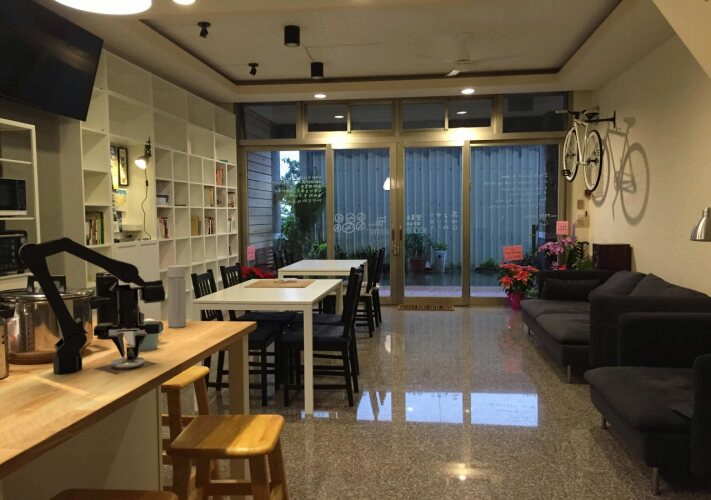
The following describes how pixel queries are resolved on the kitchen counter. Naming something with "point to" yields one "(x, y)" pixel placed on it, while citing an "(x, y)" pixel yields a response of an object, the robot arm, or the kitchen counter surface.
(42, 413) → the kitchen counter surface
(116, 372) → the board
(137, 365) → the handwheel
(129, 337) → the mug
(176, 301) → the water bottle
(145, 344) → the cup
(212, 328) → the kitchen counter surface
